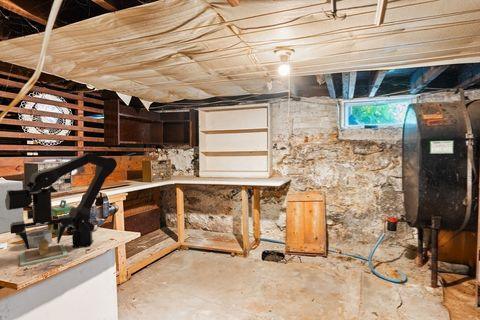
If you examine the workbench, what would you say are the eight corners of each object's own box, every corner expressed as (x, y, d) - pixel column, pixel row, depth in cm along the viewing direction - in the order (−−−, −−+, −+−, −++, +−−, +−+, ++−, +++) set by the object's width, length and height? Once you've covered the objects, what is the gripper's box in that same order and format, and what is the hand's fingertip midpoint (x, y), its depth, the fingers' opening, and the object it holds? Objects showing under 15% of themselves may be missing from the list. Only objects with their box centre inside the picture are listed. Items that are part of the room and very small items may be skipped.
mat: (62, 245, 113) (62, 244, 113) (68, 256, 102) (68, 254, 102) (19, 254, 104) (19, 252, 104) (20, 266, 93) (20, 264, 93)
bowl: (50, 238, 121) (50, 228, 121) (52, 244, 114) (52, 233, 114) (24, 243, 115) (23, 233, 115) (24, 249, 108) (24, 238, 108)
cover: (58, 246, 111) (58, 235, 110) (63, 254, 102) (62, 242, 102) (24, 252, 104) (24, 241, 103) (26, 262, 95) (25, 249, 95)
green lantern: (47, 231, 132) (46, 201, 132) (67, 226, 140) (66, 198, 139) (55, 234, 127) (55, 203, 126) (76, 229, 135) (75, 200, 134)
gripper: (67, 199, 114) (68, 235, 115) (9, 205, 102) (11, 245, 103) (72, 203, 106) (73, 242, 107) (9, 210, 94) (11, 254, 94)
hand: (43, 245), depth 103 cm, fingers open, 9 cm apart
